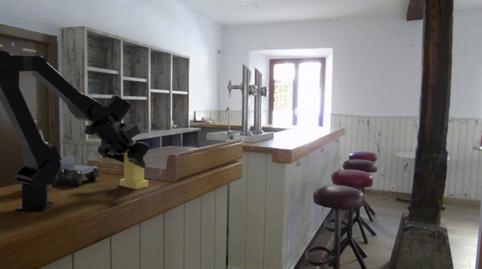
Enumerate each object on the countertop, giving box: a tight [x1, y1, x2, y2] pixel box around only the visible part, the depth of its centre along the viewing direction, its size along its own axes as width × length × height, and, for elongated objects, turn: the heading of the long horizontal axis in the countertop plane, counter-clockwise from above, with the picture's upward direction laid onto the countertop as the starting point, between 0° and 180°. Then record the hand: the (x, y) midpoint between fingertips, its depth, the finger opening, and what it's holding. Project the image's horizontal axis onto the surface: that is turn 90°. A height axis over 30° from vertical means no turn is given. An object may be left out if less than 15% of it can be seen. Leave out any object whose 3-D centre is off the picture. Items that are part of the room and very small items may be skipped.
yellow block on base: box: [119, 152, 149, 190], centre depth 114 cm, size 5×8×12 cm, turn 57°
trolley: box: [53, 155, 101, 187], centre depth 116 cm, size 10×11×8 cm
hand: (137, 165), depth 115 cm, fingers open, 6 cm apart
